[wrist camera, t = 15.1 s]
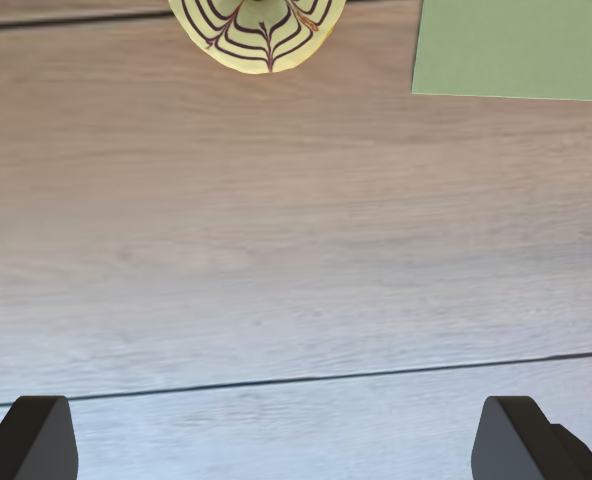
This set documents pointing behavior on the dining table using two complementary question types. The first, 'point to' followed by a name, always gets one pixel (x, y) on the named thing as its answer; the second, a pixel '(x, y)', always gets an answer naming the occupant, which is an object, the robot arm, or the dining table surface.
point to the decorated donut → (258, 30)
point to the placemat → (505, 49)
